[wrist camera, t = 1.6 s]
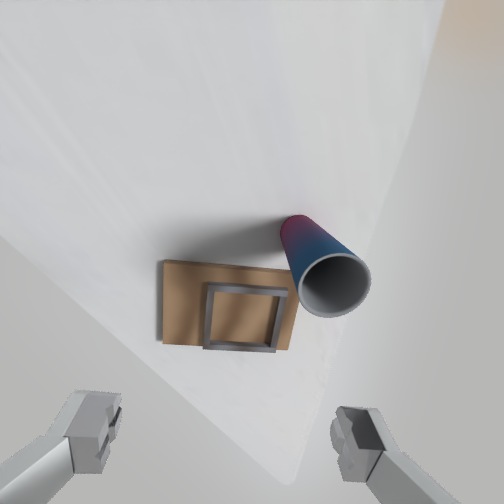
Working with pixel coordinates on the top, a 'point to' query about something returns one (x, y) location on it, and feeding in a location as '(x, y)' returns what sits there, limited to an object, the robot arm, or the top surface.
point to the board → (228, 306)
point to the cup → (323, 269)
